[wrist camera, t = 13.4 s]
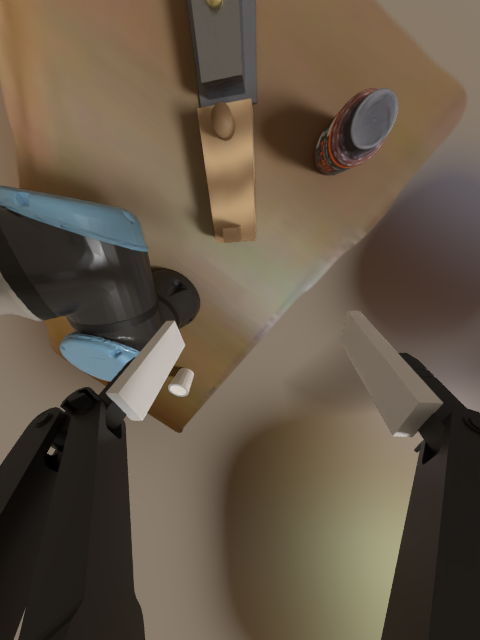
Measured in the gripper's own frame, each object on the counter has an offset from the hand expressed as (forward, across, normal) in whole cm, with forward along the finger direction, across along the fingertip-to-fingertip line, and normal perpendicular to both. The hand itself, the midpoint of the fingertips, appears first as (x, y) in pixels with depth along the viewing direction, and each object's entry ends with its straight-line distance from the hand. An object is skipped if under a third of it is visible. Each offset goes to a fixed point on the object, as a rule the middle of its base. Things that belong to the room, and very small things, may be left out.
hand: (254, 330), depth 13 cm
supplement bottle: (+26, +12, +14) cm, 32 cm away
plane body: (+26, -4, +12) cm, 29 cm away
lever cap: (+26, -3, +25) cm, 36 cm away
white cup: (+26, -29, -38) cm, 55 cm away
